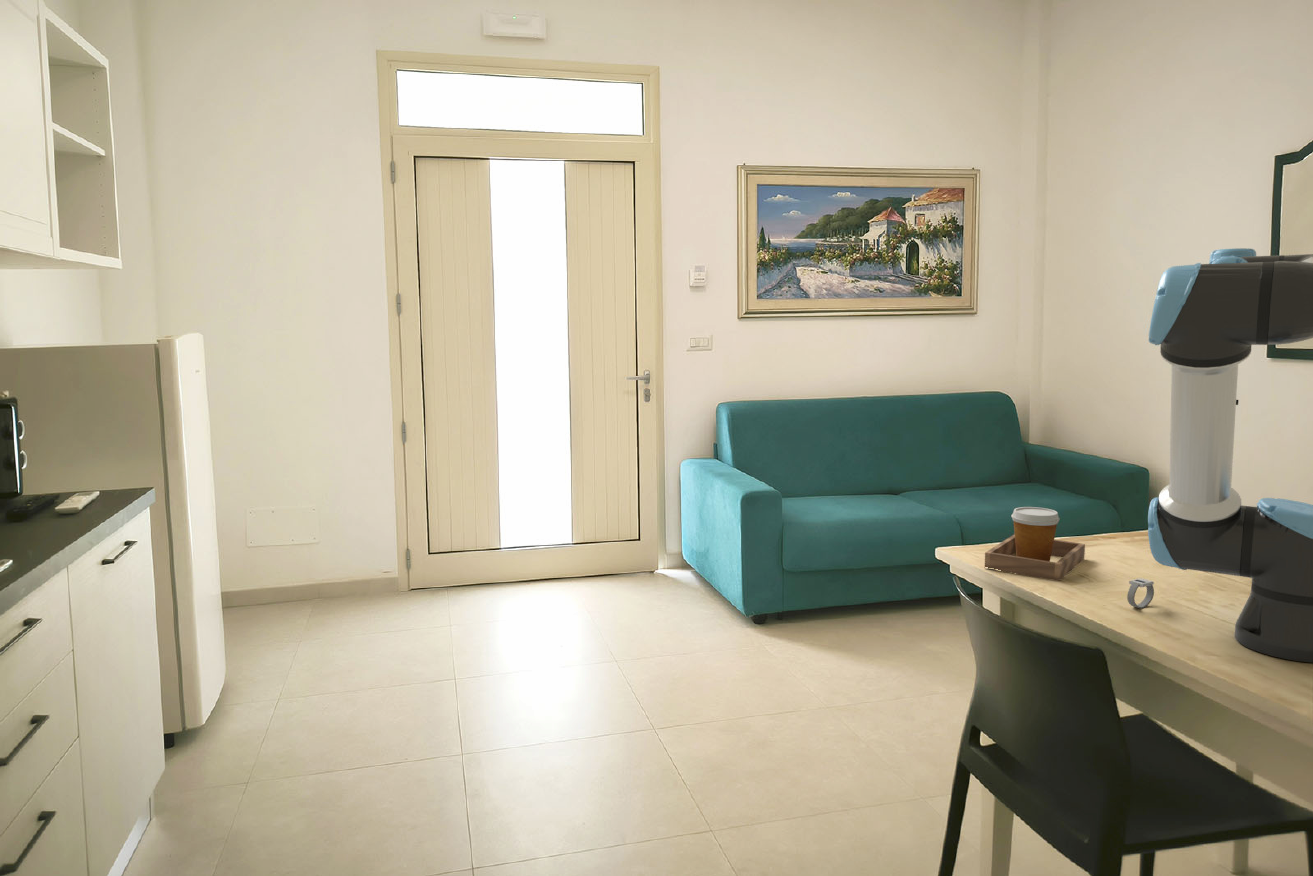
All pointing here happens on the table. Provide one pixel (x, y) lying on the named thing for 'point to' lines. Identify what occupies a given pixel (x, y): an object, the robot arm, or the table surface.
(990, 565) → the rectangular wooden frame
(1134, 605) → the wristwatch
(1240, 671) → the table surface
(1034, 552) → the disposable coffee cup
